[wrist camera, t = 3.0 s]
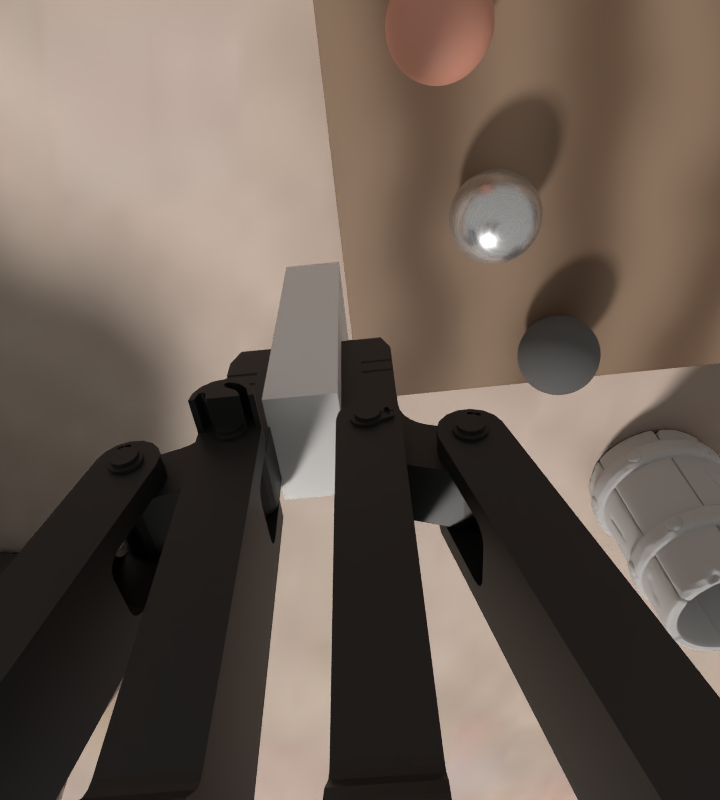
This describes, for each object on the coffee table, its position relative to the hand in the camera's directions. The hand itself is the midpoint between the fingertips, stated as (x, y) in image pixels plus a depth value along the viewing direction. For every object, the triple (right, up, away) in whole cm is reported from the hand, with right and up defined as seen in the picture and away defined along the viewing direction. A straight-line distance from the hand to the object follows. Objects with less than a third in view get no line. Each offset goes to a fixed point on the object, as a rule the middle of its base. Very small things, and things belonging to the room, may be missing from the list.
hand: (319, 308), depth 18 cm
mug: (+20, -8, +20) cm, 30 cm away
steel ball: (+6, +4, +5) cm, 9 cm away
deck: (+15, +8, +9) cm, 19 cm away
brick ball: (+4, +9, +2) cm, 10 cm away
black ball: (+10, -1, +9) cm, 13 cm away
